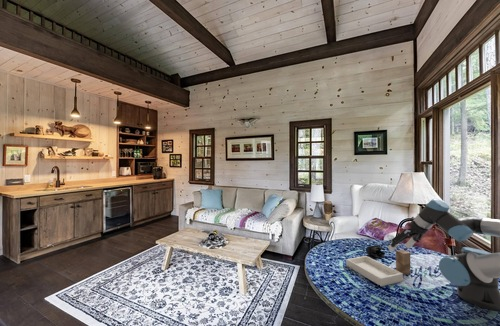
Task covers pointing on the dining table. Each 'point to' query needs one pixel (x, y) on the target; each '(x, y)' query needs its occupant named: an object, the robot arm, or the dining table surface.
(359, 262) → the sorting tray
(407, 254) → the walnut block
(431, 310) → the dining table surface
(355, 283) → the dining table surface
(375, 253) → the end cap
